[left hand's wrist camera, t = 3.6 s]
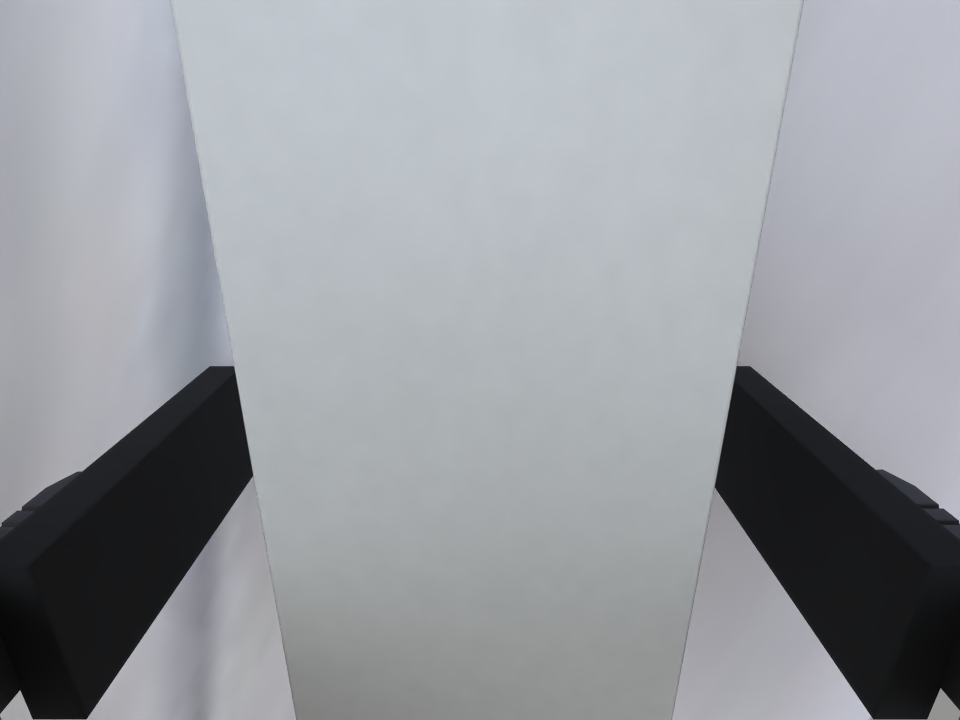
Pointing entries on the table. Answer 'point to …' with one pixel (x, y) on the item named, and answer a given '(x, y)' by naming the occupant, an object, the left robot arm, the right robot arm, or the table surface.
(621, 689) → the bar
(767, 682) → the table surface
